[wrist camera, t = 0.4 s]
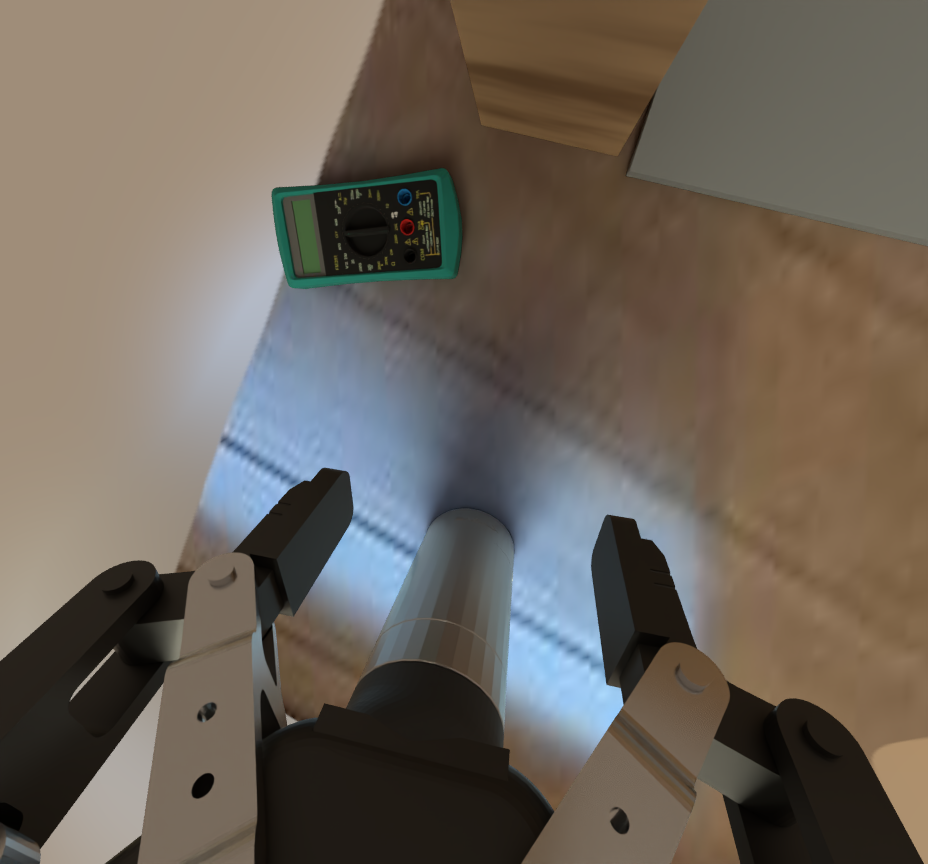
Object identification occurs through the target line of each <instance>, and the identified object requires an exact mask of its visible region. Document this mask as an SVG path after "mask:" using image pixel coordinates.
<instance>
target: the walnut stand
mask: <svg viewBox="0 0 928 864" xmlns="http://www.w3.org/2000/svg"><path fill="white" fill-rule="evenodd" d="M707 1H708V0H450V2H451V6H452V10H453V14H454V17H455V21H456V25H457V29H458V33H459V37H460V41H461V45H462V49H463V53H464V57H465V61H466V65H467V69H468V73H469V77H470V81H471V85H472V89H473V93H474V97H475V101H476V105H477V109H478V113H479V117H480V121H481V125H483V126H487V127H491V128H496V129H500V130H504V131H509V132H513V133H517V134H522V135H526V136H530V137H535V138H539V139H544V140H548V141H552V142H557V143H561V144H565V145H570V146H574V147H578V148H583V149H587V150H591V151H596V152H600V153H604V154H609V155H613V156H618V154H619V153H620V151H621V149H622V148H623V146H624V144H625V142H626V141H627V139H628V137H629V136H630V134H631V132H632V130H633V129H634V127H635V125H636V124H637V122H638V120H639V118H640V117H641V115H642V113H643V112H644V110H645V108H646V106H647V105H648V103H649V101H650V99H651V98H652V96H653V94H654V93H655V91H656V89H657V87H658V86H659V84H660V82H661V81H662V79H663V77H664V75H665V74H666V72H667V70H668V69H669V67H670V65H671V63H672V62H673V60H674V58H675V57H676V55H677V53H678V51H679V50H680V48H681V46H682V44H683V43H684V41H685V39H686V38H687V36H688V34H689V32H690V31H691V29H692V27H693V26H694V24H695V22H696V20H697V19H698V17H699V15H700V14H701V12H702V10H703V8H704V7H705V5H706V3H707Z"/></svg>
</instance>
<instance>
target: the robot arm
mask: <svg viewBox="0 0 928 864" xmlns="http://www.w3.org/2000/svg"><path fill="white" fill-rule="evenodd" d="M352 516H353V500H352V492H351V483H350V476H349V473H348V472H347V471H342V470H336V469H330V468H322V469H321V470H320V471H319V472H318V473H317V475H316V476H315V477H314V478H313V479H312V480H311V482H310V481H303V482H301V483H300V484H298V485H296V486H295V487H293V488H291V489H290V490H288V492H287V493H286V494H285V495H284V496H283V497H282V498H281V499H280V500H279V502H278V504H276V505H275V506H274V507H273V508H272V509H271V510H270V512H269V514H267V515H266V516H265V517H264V518H263V519H262V520H261V522H260V523H259V524H258V525H257V526H256V527H255V528H254V529H253V530H252V532H251V533H250V534H249V535H248V536H247V537H246V538H245V539H244V540H243V541H242V543H241V544H240V545H239V546H238V547H237V548H236V549H235V550H234V551H233V552H232V553H227V554H222V555H219V556H217V557H214V558H212V559H210V560H209V561H207V562H205V563H204V564H203V565H201V566H200V567H199V568H198V569H197V570H196V571H191V572H180V573H169V574H158V572H157V570H156V569H155V567H154V565H153V564H151V563H150V562H146V561H131V562H126V563H122V564H119V565H117V566H114V567H112V568H110V569H108V570H106V571H104V572H103V573H101V574H100V575H98V576H97V577H95V578H94V579H93V580H92V581H91V582H90V583H88V584H87V585H86V586H85V587H84V588H83V589H82V590H80V591H79V592H78V593H77V594H76V595H75V596H74V597H72V598H71V599H70V600H69V601H68V602H67V603H66V604H65V605H63V607H61V608H60V609H59V610H58V611H57V612H56V613H54V614H53V615H52V616H51V617H50V618H49V619H48V620H46V622H44V623H43V624H42V625H41V626H40V627H39V628H37V629H36V630H35V631H34V632H33V633H32V634H31V635H30V636H29V637H27V638H26V639H25V640H24V641H23V642H22V643H20V644H19V645H18V646H17V647H16V648H15V649H14V650H12V652H10V653H9V654H8V655H7V656H6V657H5V658H3V659H2V660H1V661H0V864H40V855H41V854H40V849H41V847H42V846H43V845H44V843H45V842H46V841H47V839H48V838H49V837H50V835H51V834H52V832H53V831H54V830H55V829H56V827H57V826H58V824H59V823H60V822H61V820H62V819H63V817H64V816H65V815H66V814H67V812H68V811H69V810H70V808H71V807H72V806H73V804H74V803H75V801H76V800H77V799H78V797H79V796H80V795H81V793H82V792H83V791H84V789H85V788H86V787H87V785H88V784H89V783H90V781H91V780H92V778H93V777H94V776H95V774H96V773H97V771H98V770H99V769H100V768H101V766H102V765H103V764H104V762H105V761H106V760H107V758H108V757H109V756H110V754H111V753H112V752H113V750H114V749H115V747H116V746H117V745H118V743H119V742H120V741H121V739H122V738H123V737H124V735H125V734H126V732H127V731H128V730H129V728H130V727H131V726H132V724H133V723H134V722H135V720H136V719H137V718H138V716H139V715H140V714H141V712H142V711H143V710H144V708H145V707H146V706H147V704H148V703H149V701H150V700H151V699H152V697H153V696H154V695H155V693H156V692H157V691H158V689H159V688H160V687H161V685H162V684H163V683H164V685H163V692H162V698H161V705H160V712H159V719H158V727H157V733H156V740H155V747H154V754H153V761H152V768H151V775H150V781H149V788H148V795H147V802H146V809H145V816H144V823H143V829H142V835H141V836H140V837H138V838H137V839H136V840H134V841H133V842H132V843H131V844H130V845H128V846H127V847H126V848H124V849H123V850H122V851H120V853H118V854H117V855H115V856H114V857H113V858H112V859H110V860H109V861H108V862H106V864H671V861H672V859H673V856H674V854H675V851H676V849H677V847H678V844H679V842H680V839H681V837H682V834H683V832H684V829H685V827H686V824H687V822H688V819H689V817H690V814H691V812H692V809H693V806H694V803H695V800H696V791H695V790H694V785H695V782H696V779H697V778H698V779H699V780H701V781H702V782H704V783H706V784H707V785H709V786H711V787H712V788H714V789H715V790H717V791H719V792H720V793H722V794H723V798H724V802H725V806H726V810H727V813H728V817H729V821H730V825H731V829H732V833H733V837H734V840H735V844H736V848H737V852H738V856H739V860H740V864H924V863H923V861H922V859H921V858H920V856H919V854H918V852H917V850H916V848H915V846H914V844H913V843H912V841H911V839H910V837H909V835H908V833H907V831H906V830H905V828H904V826H903V824H902V822H901V820H900V818H899V817H898V815H897V813H896V811H895V809H894V807H893V805H892V804H891V802H890V800H889V798H888V796H887V794H886V792H885V791H884V789H883V787H882V785H881V783H880V781H879V780H878V778H877V776H876V774H875V772H874V770H873V768H872V767H871V765H870V763H869V761H868V759H867V757H866V755H865V754H864V752H863V750H862V748H861V747H860V745H859V744H858V742H857V741H856V740H855V738H854V737H853V736H852V735H851V733H850V732H849V731H848V730H847V729H846V728H845V727H844V726H843V725H842V724H841V723H840V722H839V721H838V720H837V719H835V718H834V717H833V716H832V715H830V714H829V713H827V712H826V711H825V710H823V709H821V708H820V707H818V706H816V705H814V704H812V703H810V702H807V701H804V700H801V699H786V700H784V701H782V702H781V703H780V704H779V705H778V706H777V707H776V706H774V705H772V704H770V703H768V702H766V701H764V700H762V699H760V698H758V697H756V696H754V695H752V694H750V693H748V692H746V691H744V690H742V689H740V688H738V687H736V686H735V685H733V684H731V683H729V682H728V681H727V680H726V679H725V677H724V675H723V674H722V672H721V671H720V669H719V668H718V667H717V665H716V664H715V663H714V662H713V661H712V660H711V659H710V658H709V657H708V656H706V655H705V654H704V653H703V652H701V651H699V650H698V649H697V647H696V645H695V642H694V639H693V637H692V634H691V631H690V628H689V625H688V622H687V619H686V616H685V614H684V611H683V608H682V605H681V602H680V599H679V596H678V593H677V590H675V585H674V582H673V579H672V576H670V570H669V567H668V565H667V562H666V559H665V556H664V555H663V554H662V552H661V551H660V550H659V549H658V547H657V546H656V545H655V544H654V542H653V541H652V540H647V539H641V537H640V534H639V530H638V527H637V523H636V521H635V520H634V519H631V518H625V517H619V516H613V515H606V517H605V518H604V521H603V524H602V527H601V530H600V532H599V535H598V538H597V541H596V544H595V547H594V549H593V553H592V561H591V570H592V578H593V586H594V594H595V601H596V609H597V616H598V624H599V631H600V639H601V646H602V654H603V662H604V669H605V677H606V684H607V685H610V686H614V687H619V688H621V691H622V697H623V704H624V706H623V707H622V709H621V710H620V712H619V713H618V715H617V716H616V717H615V719H614V720H613V722H612V723H611V725H610V727H609V728H608V730H607V731H606V733H605V734H604V736H603V737H602V739H601V741H600V742H599V744H598V745H597V747H596V748H595V750H594V751H593V753H592V754H591V756H590V758H589V759H588V761H587V762H586V764H585V765H584V767H583V768H582V770H581V772H580V773H579V775H578V776H577V778H576V779H575V781H574V782H573V784H572V786H571V787H570V789H569V790H568V792H567V793H566V795H565V796H564V798H563V800H562V801H561V803H560V804H559V806H558V807H557V809H556V810H555V812H554V810H553V809H552V807H551V806H550V804H549V803H548V801H547V800H546V799H545V797H544V796H543V795H542V793H541V792H540V791H539V790H538V789H537V788H536V787H535V786H534V784H533V783H532V782H531V781H530V780H529V779H528V778H526V777H525V776H524V775H523V774H522V773H520V772H519V771H518V770H516V769H515V768H513V767H512V766H510V765H509V752H510V750H509V749H505V748H503V740H504V723H505V705H506V688H507V687H506V684H507V666H508V649H509V632H510V614H511V597H512V581H513V564H514V546H513V541H512V538H511V536H510V534H509V532H508V531H507V529H506V528H505V526H504V525H503V524H502V523H501V522H500V521H499V520H497V519H496V518H494V517H493V516H491V515H490V514H487V513H485V512H483V511H480V510H475V509H469V508H460V509H454V510H450V511H448V512H445V513H443V514H442V515H440V516H439V517H437V518H436V519H435V520H434V521H433V522H432V523H431V525H430V527H429V529H428V530H427V532H426V535H425V537H424V539H423V541H422V543H421V546H420V548H419V550H418V552H417V554H416V556H415V558H414V560H413V563H412V565H411V567H410V569H409V571H408V574H407V576H406V578H405V580H404V582H403V585H402V587H401V589H400V591H399V593H398V595H397V598H396V600H395V602H394V604H393V606H392V609H391V611H390V613H389V615H388V617H387V620H386V622H385V624H384V626H383V628H382V630H381V633H380V635H379V637H378V639H377V641H376V644H375V646H374V649H373V651H372V653H371V655H370V657H369V659H368V662H367V664H366V666H365V668H364V670H363V673H362V675H361V677H360V679H359V681H358V684H357V686H356V688H355V690H354V692H353V694H352V697H351V699H350V701H349V703H348V705H347V707H346V709H345V708H341V707H337V706H333V705H329V704H325V703H324V706H323V708H322V710H321V712H320V715H319V717H318V718H311V719H307V720H302V721H299V722H296V723H293V724H290V725H288V726H287V721H286V715H285V710H284V705H283V700H282V694H281V686H280V674H279V663H278V652H277V641H276V629H275V625H274V621H275V619H276V617H277V616H278V614H283V615H288V616H292V617H294V615H295V613H296V612H297V610H298V608H299V607H300V605H301V604H302V602H303V600H304V599H305V597H306V595H307V594H308V592H309V590H310V589H311V587H312V586H313V584H314V582H315V581H316V579H317V577H318V576H319V574H320V572H321V571H322V569H323V568H324V566H325V564H326V563H327V561H328V559H329V558H330V556H331V554H332V553H333V551H334V550H335V548H336V546H337V545H338V543H339V541H340V540H341V538H342V536H343V535H344V533H345V532H346V530H347V528H348V527H349V525H350V522H351V519H352ZM112 649H114V650H115V652H114V653H113V654H112V655H111V656H110V658H109V659H108V660H107V661H106V662H105V663H104V664H103V665H102V666H101V668H100V669H99V670H98V671H97V672H96V673H95V674H94V675H93V676H92V678H91V679H90V680H89V681H88V682H87V683H86V684H85V685H84V686H83V688H82V689H81V690H80V691H79V692H78V693H77V694H76V695H75V696H74V698H73V699H72V700H71V701H70V699H71V697H72V695H73V693H74V692H75V690H76V689H77V687H78V686H79V685H80V684H81V683H82V682H83V681H84V680H85V679H86V678H87V676H88V675H89V674H90V673H91V672H92V671H93V670H94V669H95V667H97V665H98V664H99V663H100V662H101V661H102V660H103V659H104V658H105V657H106V656H107V655H108V653H109V652H110V651H111V650H112Z"/></svg>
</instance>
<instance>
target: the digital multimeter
mask: <svg viewBox="0 0 928 864" xmlns="http://www.w3.org/2000/svg"><path fill="white" fill-rule="evenodd" d="M272 204H273V215H274V222H275V230H276V236H277V241H278V247H279V251H280V255H281V259H282V264H283V268H284V271H285V275H286V279H287V282H288V285H289V286H290V287H292V288H300V289H308V288H317V287H325V286H333V285H341V284H351V283H363V282H375V281H392V280H417V279H453V278H455V277H456V276H457V274H458V269H459V263H460V257H461V248H462V218H461V213H460V208H459V202H458V198H457V194H456V191H455V187H454V183H453V180H452V178H451V176H450V174H449V173H448V171H447V170H446V169H444V168H439V169H434V170H428V171H423V172H417V173H412V174H406V175H400V176H393V177H387V178H380V179H374V180H367V181H358V182H348V183H338V184H328V185H314V186H296V187H279V188H274V189H273V191H272ZM380 209H381V210H380ZM344 217H345V218H344ZM342 232H343V233H342ZM385 248H386V249H385ZM429 268H431V269H429ZM415 269H418V270H415ZM402 270H404V271H402ZM388 271H389V272H388ZM347 274H348V275H347ZM334 275H335V276H334Z"/></svg>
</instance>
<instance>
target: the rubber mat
mask: <svg viewBox="0 0 928 864" xmlns="http://www.w3.org/2000/svg"><path fill="white" fill-rule="evenodd" d="M626 176H629V177H633V178H637V179H642V180H646V181H650V182H655V183H659V184H663V185H667V186H672V187H676V188H680V189H685V190H689V191H693V192H697V193H702V194H706V195H710V196H715V197H719V198H723V199H727V200H732V201H736V202H740V203H745V204H749V205H753V206H757V207H762V208H766V209H770V210H775V211H779V212H783V213H787V214H792V215H796V216H800V217H805V218H809V219H813V220H818V221H822V222H826V223H830V224H835V225H839V226H843V227H848V228H852V229H856V230H860V231H865V232H869V233H873V234H878V235H882V236H886V237H890V238H895V239H899V240H903V241H908V242H912V243H916V244H920V245H925V246H928V0H708V1H707V3H706V5H705V7H704V8H703V10H702V12H701V14H700V15H699V17H698V19H697V20H696V22H695V24H694V26H693V27H692V29H691V31H690V32H689V34H688V36H687V38H686V39H685V41H684V43H683V44H682V46H681V48H680V50H679V51H678V53H677V55H676V57H675V58H674V60H673V62H672V63H671V65H670V67H669V69H668V70H667V72H666V74H665V75H664V77H663V79H662V81H661V82H660V84H659V86H658V87H657V89H656V91H655V93H654V94H653V97H652V100H651V103H650V106H649V109H648V112H647V115H646V118H645V121H644V124H643V127H642V130H641V133H640V136H639V139H638V141H637V144H636V147H635V150H634V153H633V156H632V159H631V162H630V165H629V168H628V171H627V174H626Z"/></svg>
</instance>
